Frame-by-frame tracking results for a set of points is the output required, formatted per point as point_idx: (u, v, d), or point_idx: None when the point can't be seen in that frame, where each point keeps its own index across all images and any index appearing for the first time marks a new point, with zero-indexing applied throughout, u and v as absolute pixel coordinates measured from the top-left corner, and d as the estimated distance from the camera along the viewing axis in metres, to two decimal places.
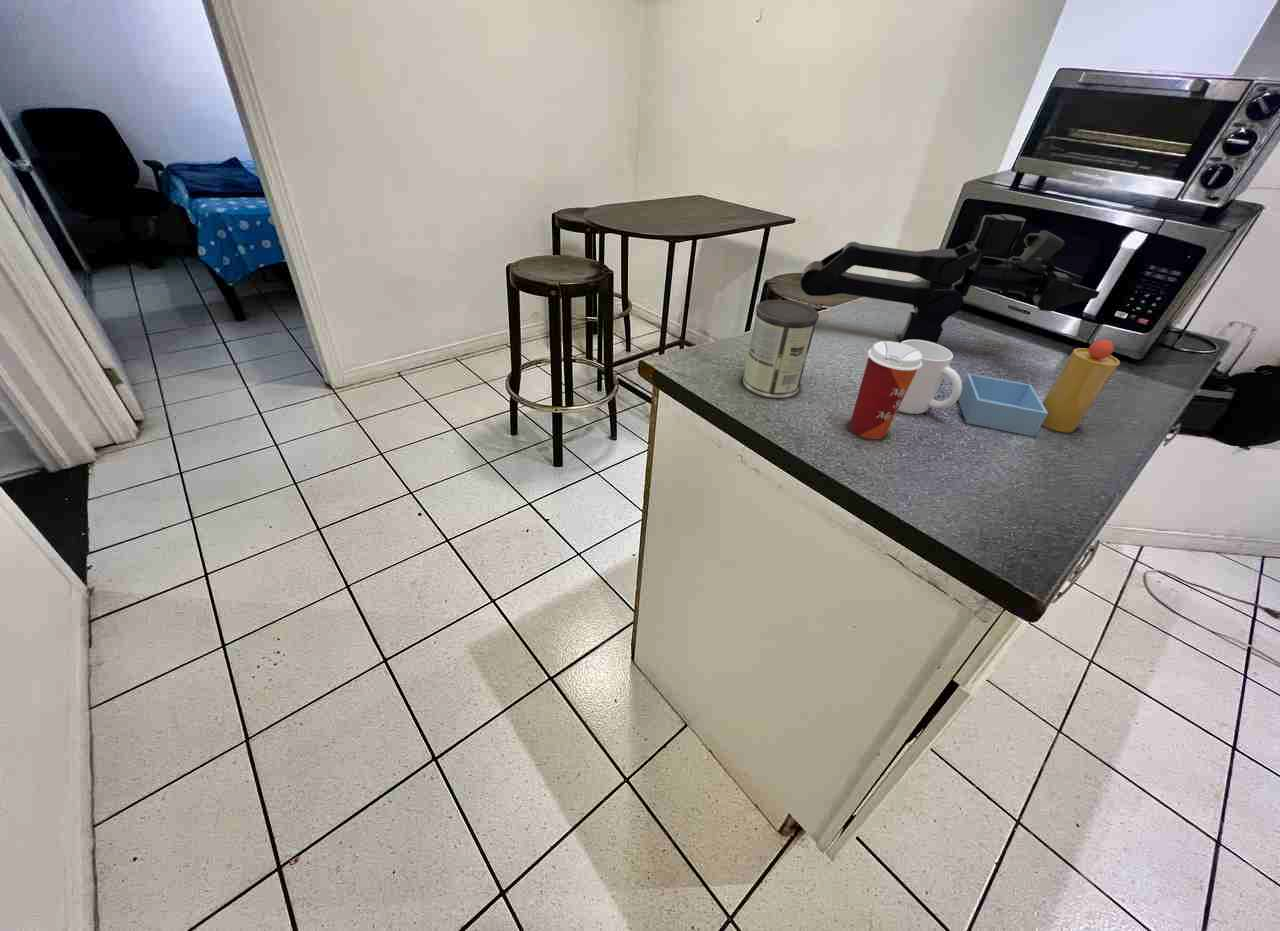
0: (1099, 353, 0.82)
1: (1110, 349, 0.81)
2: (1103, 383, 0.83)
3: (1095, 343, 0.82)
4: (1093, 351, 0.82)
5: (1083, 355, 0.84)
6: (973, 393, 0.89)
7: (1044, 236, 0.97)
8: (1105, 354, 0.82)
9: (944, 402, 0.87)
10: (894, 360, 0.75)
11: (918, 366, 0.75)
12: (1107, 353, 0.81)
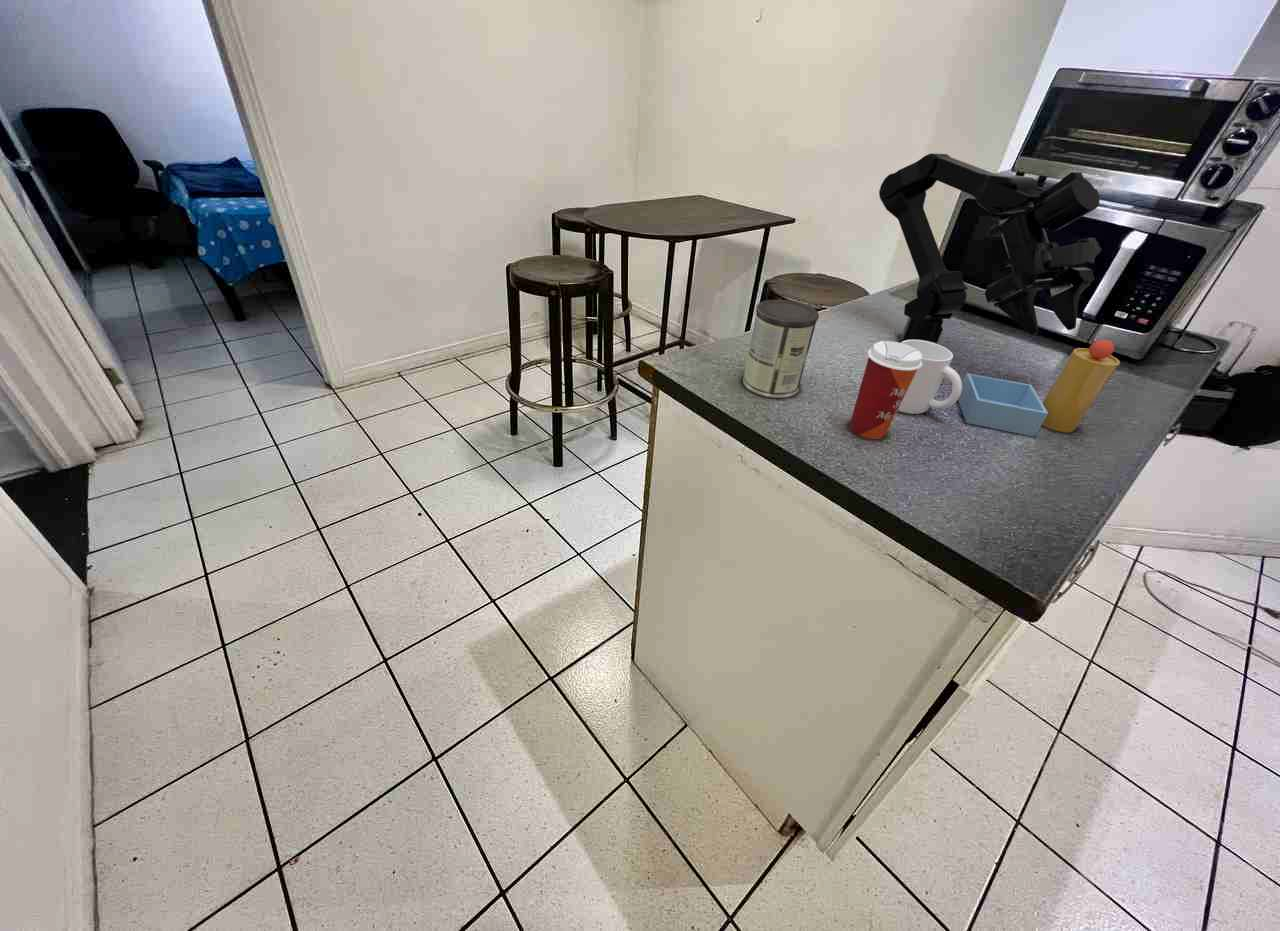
0: (1099, 353, 0.82)
1: (1111, 350, 0.81)
2: (1103, 383, 0.83)
3: (1096, 343, 0.82)
4: (1093, 351, 0.82)
5: (1083, 355, 0.84)
6: (973, 393, 0.89)
7: None
8: (1105, 354, 0.82)
9: (944, 402, 0.87)
10: (894, 360, 0.75)
11: (918, 366, 0.75)
12: (1107, 353, 0.81)
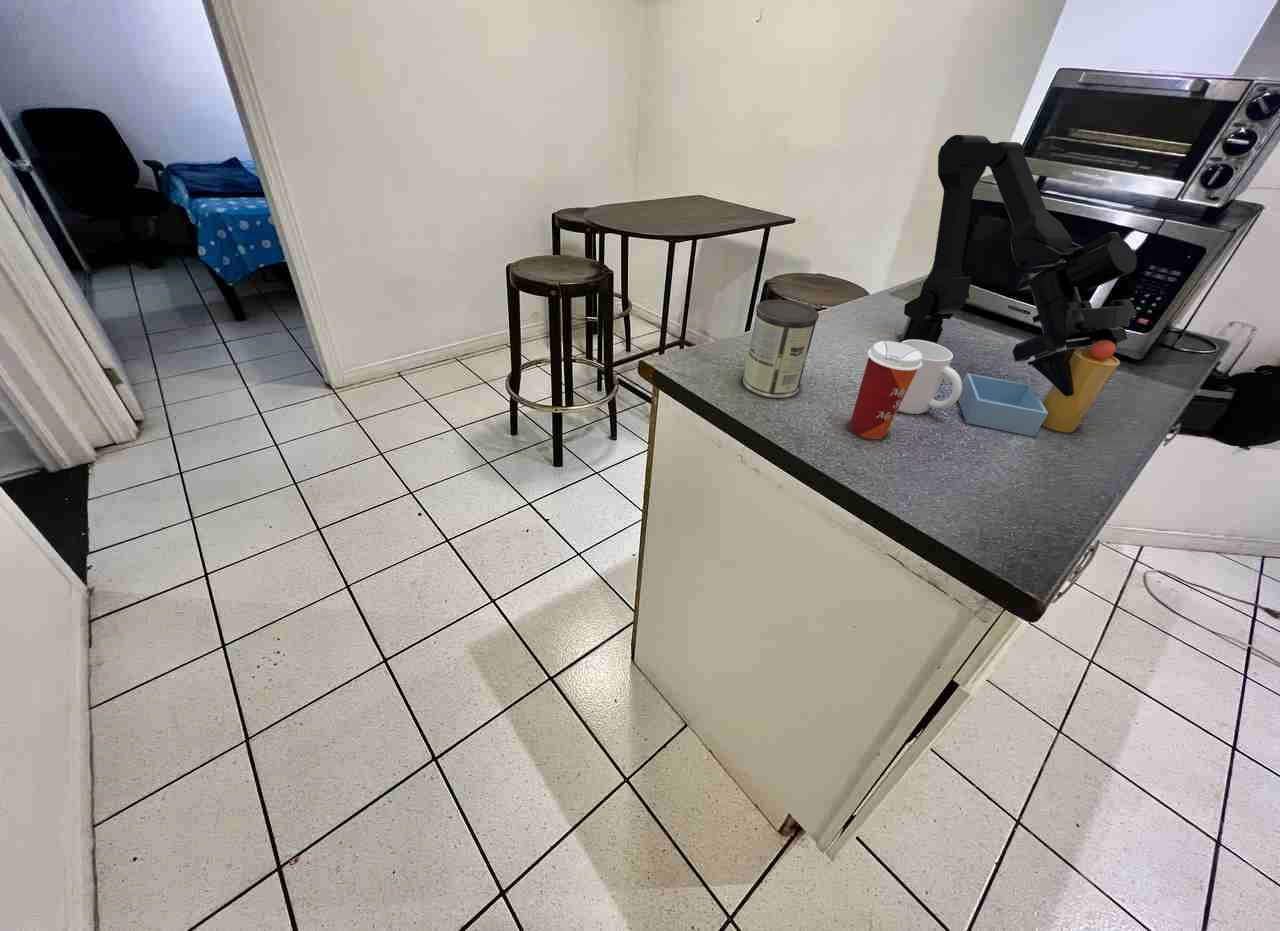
0: (1101, 353, 0.82)
1: (1112, 351, 0.81)
2: (1103, 383, 0.83)
3: (1099, 343, 0.82)
4: (1095, 350, 0.82)
5: (1083, 355, 0.84)
6: (973, 393, 0.89)
7: None
8: (1106, 355, 0.82)
9: (944, 402, 0.87)
10: (894, 360, 0.75)
11: (918, 366, 0.75)
12: (1108, 354, 0.81)
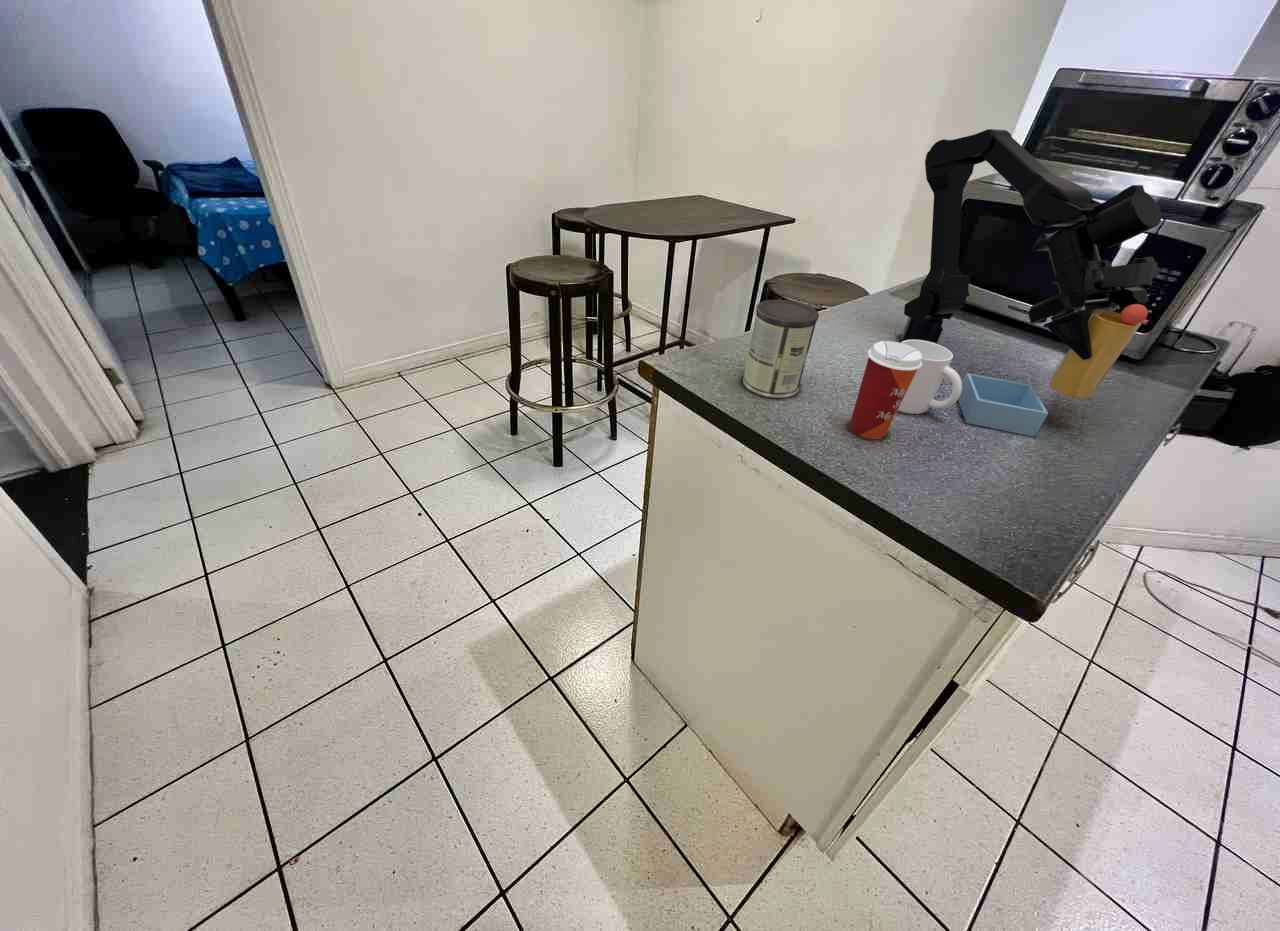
0: (1125, 321, 0.78)
1: (1135, 324, 0.78)
2: (1123, 345, 0.80)
3: (1135, 312, 0.77)
4: (1124, 316, 0.78)
5: (1102, 316, 0.81)
6: (973, 393, 0.89)
7: None
8: (1127, 324, 0.78)
9: (944, 402, 0.87)
10: (894, 360, 0.75)
11: (918, 366, 0.75)
12: (1129, 324, 0.78)
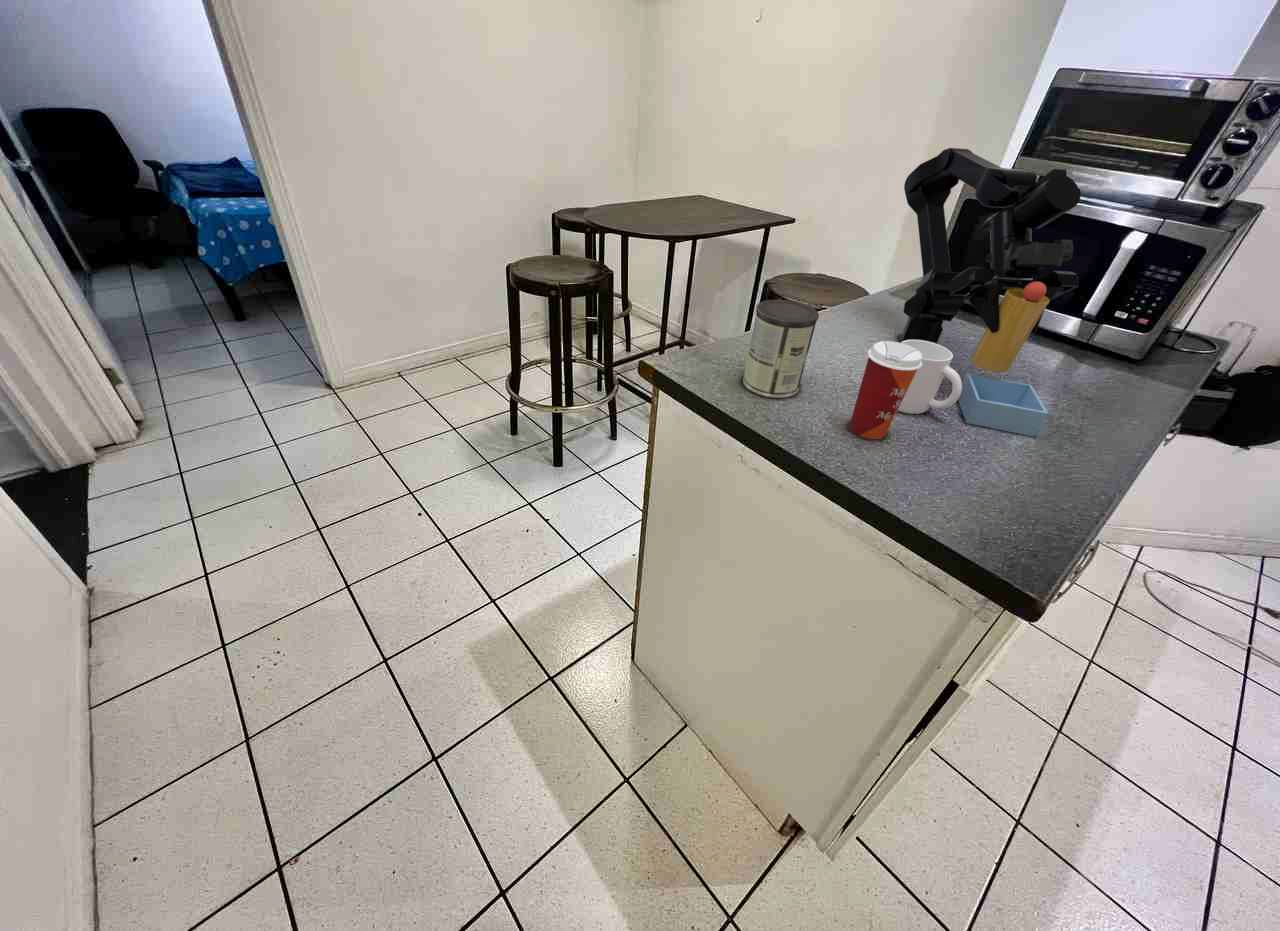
0: (1027, 299, 0.83)
1: (1038, 299, 0.83)
2: (1028, 322, 0.85)
3: (1030, 289, 0.82)
4: (1024, 295, 0.83)
5: (1016, 293, 0.86)
6: (973, 393, 0.89)
7: None
8: None
9: (944, 402, 0.87)
10: (894, 360, 0.75)
11: (918, 366, 0.75)
12: None
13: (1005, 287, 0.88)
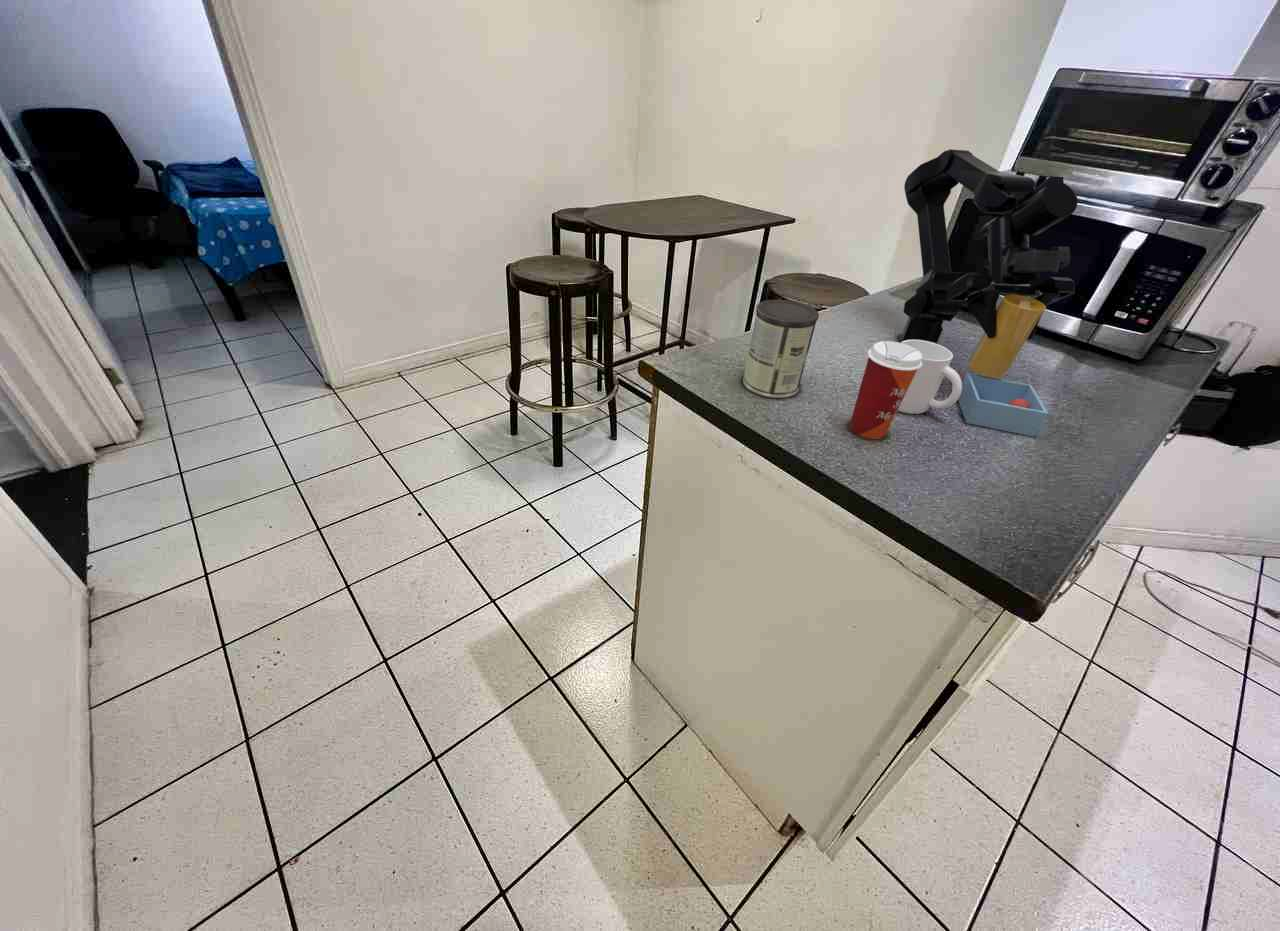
0: None
1: None
2: (1024, 328, 0.85)
3: (1011, 403, 0.90)
4: None
5: (1013, 300, 0.87)
6: (973, 393, 0.89)
7: None
8: None
9: (944, 402, 0.87)
10: (894, 360, 0.75)
11: (918, 366, 0.75)
12: None
13: (1002, 293, 0.89)
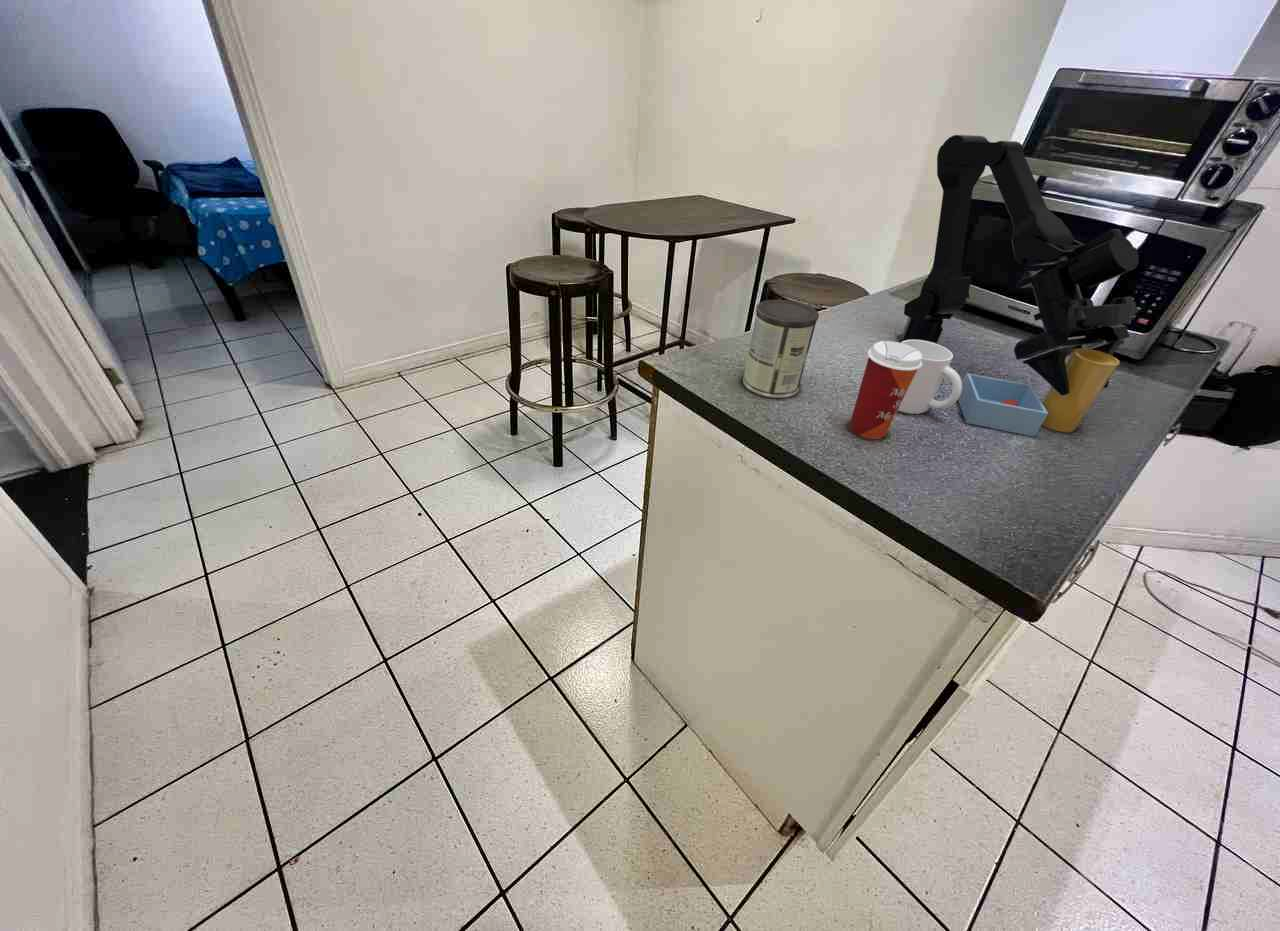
0: None
1: None
2: (1103, 383, 0.83)
3: None
4: None
5: (1083, 355, 0.84)
6: (973, 393, 0.89)
7: (1117, 304, 0.79)
8: None
9: (944, 402, 0.87)
10: (894, 360, 0.75)
11: (918, 366, 0.75)
12: None
13: (1067, 346, 0.86)
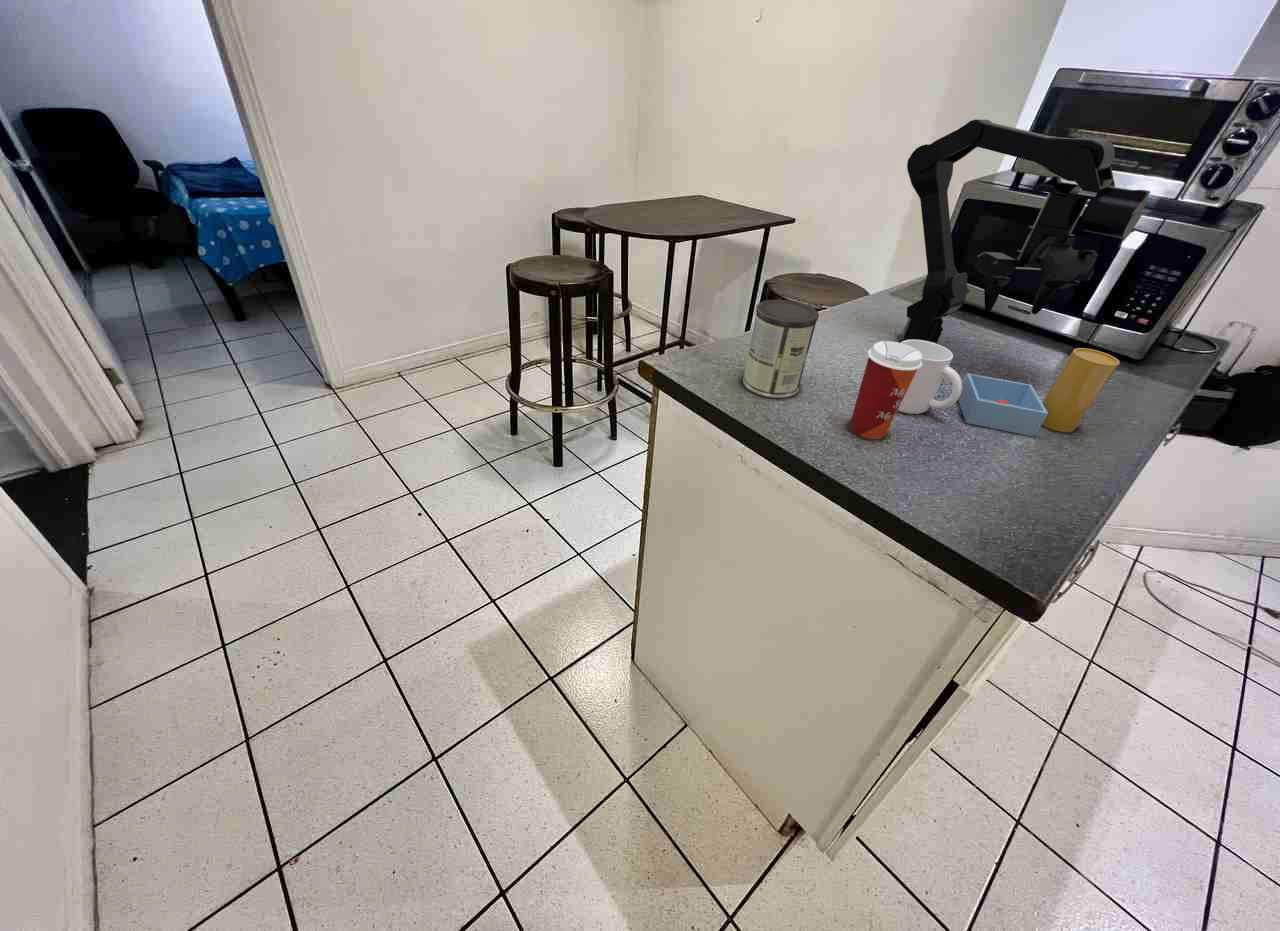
0: None
1: None
2: (1103, 383, 0.83)
3: None
4: None
5: (1083, 355, 0.84)
6: (973, 393, 0.89)
7: (1069, 262, 0.86)
8: None
9: (944, 402, 0.87)
10: (894, 360, 0.75)
11: (918, 366, 0.75)
12: None
13: (1024, 270, 0.94)
